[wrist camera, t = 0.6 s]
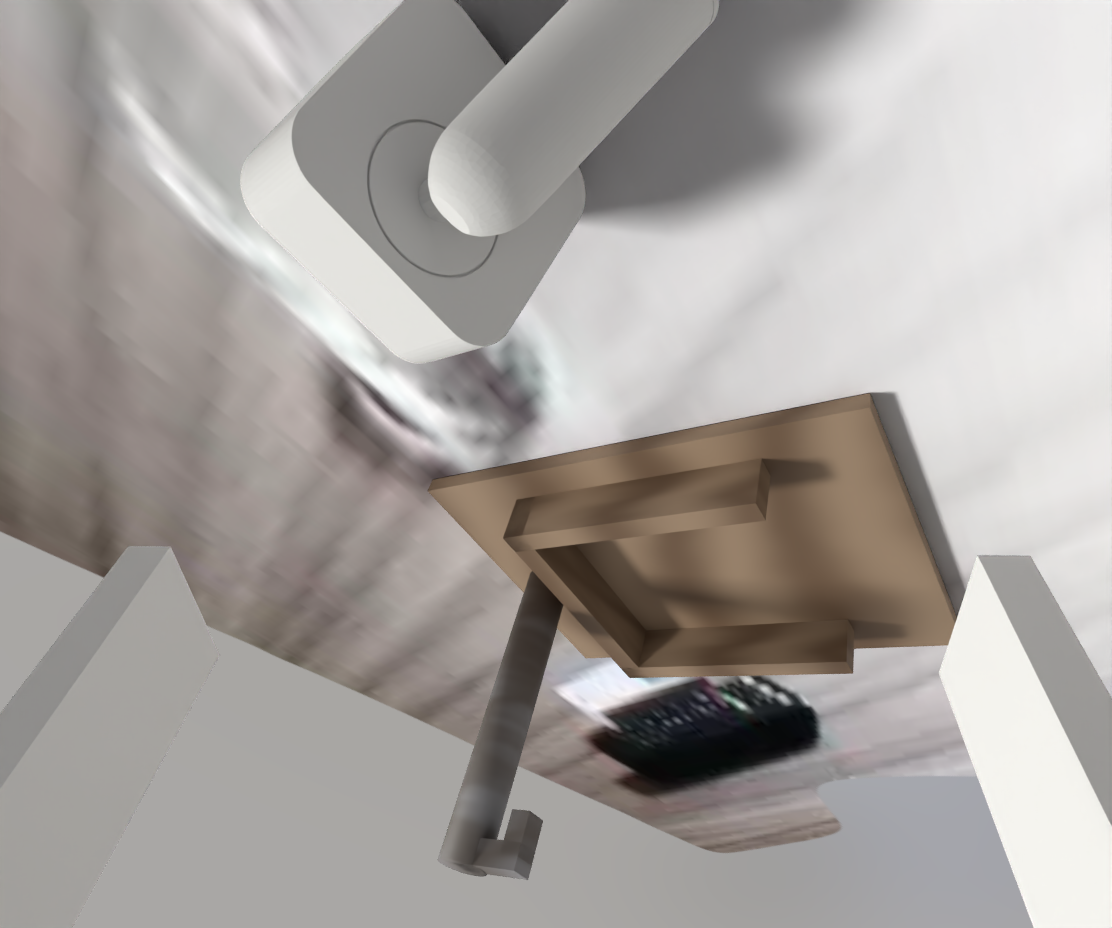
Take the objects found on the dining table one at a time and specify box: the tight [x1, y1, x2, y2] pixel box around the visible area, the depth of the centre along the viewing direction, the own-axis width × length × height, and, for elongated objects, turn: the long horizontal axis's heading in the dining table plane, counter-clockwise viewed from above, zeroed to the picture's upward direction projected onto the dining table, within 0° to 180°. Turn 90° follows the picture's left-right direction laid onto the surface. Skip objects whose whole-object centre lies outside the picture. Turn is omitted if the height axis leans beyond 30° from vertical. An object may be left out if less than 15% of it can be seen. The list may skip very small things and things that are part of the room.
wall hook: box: [240, 0, 719, 364], centre depth 22 cm, size 8×10×10 cm
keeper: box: [428, 393, 957, 880], centre depth 38 cm, size 23×18×17 cm
